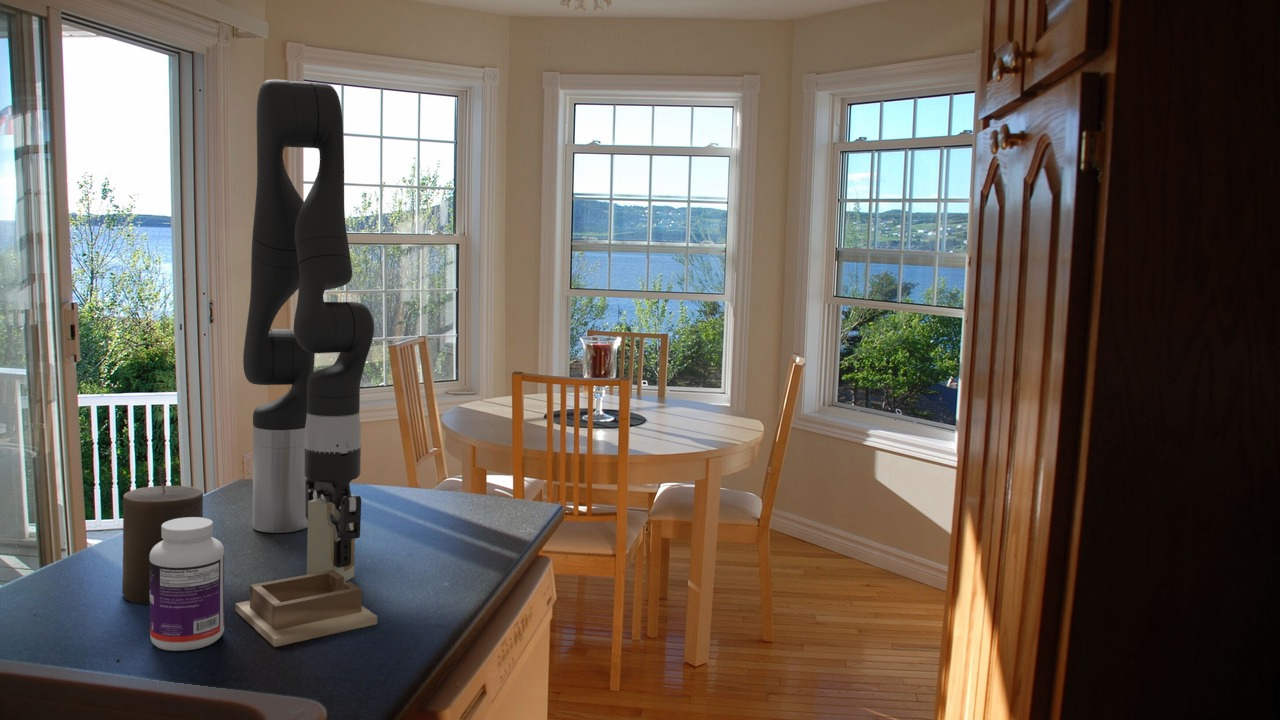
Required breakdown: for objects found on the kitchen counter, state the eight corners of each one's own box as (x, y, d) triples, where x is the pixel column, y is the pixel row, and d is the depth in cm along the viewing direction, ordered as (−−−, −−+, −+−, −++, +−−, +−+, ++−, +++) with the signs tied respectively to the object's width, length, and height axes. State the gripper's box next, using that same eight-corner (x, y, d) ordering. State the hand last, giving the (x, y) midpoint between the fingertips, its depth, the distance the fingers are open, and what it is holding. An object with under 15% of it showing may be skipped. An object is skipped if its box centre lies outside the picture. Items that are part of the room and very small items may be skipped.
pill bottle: (166, 627, 119) (165, 513, 118) (233, 628, 120) (233, 514, 119) (138, 654, 111) (136, 532, 110) (210, 655, 112) (210, 533, 111)
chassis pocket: (235, 610, 126) (235, 580, 125) (332, 591, 134) (332, 563, 134) (274, 647, 115) (274, 614, 115) (377, 624, 123) (377, 593, 123)
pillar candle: (162, 609, 125) (162, 495, 123) (105, 596, 128) (105, 485, 127) (218, 587, 134) (220, 481, 132) (164, 576, 137) (165, 472, 136)
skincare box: (333, 590, 134) (334, 504, 133) (305, 587, 135) (305, 501, 134) (356, 576, 141) (357, 493, 139) (328, 572, 142) (329, 490, 140)
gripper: (287, 437, 139) (286, 550, 141) (327, 456, 128) (326, 578, 130) (337, 433, 144) (336, 542, 146) (380, 451, 133) (378, 568, 135)
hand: (331, 558), depth 138 cm, fingers closed on skincare box, 7 cm apart
